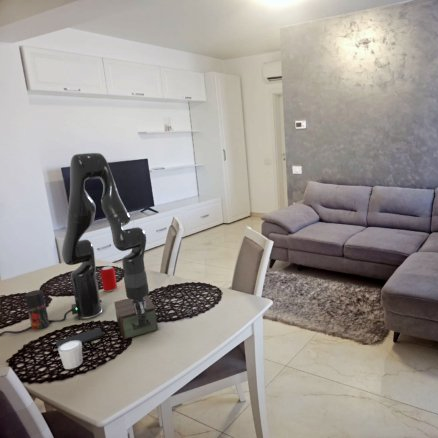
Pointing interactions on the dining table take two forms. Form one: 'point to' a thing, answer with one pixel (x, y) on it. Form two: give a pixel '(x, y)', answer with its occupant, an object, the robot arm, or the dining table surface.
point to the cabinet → (130, 312)
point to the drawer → (133, 327)
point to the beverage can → (108, 278)
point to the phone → (83, 337)
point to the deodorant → (37, 310)
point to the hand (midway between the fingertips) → (142, 326)
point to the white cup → (71, 354)
